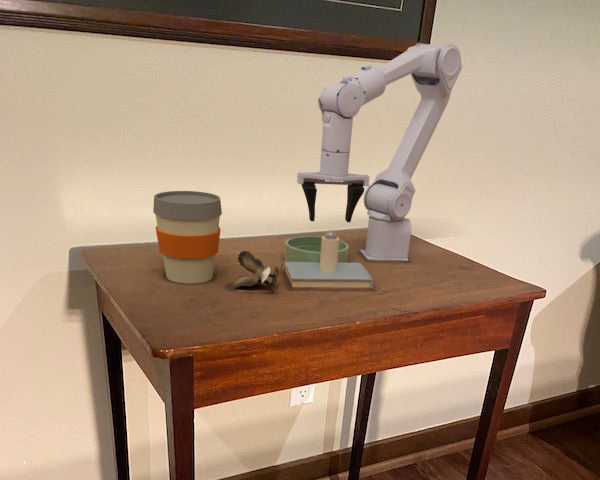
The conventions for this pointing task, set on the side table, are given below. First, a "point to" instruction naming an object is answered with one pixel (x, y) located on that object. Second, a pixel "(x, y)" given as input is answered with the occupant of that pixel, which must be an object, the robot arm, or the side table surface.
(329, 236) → the shaker
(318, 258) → the bowl
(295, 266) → the book
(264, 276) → the eagle figurine
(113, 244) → the side table surface
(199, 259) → the reusable coffee cup
